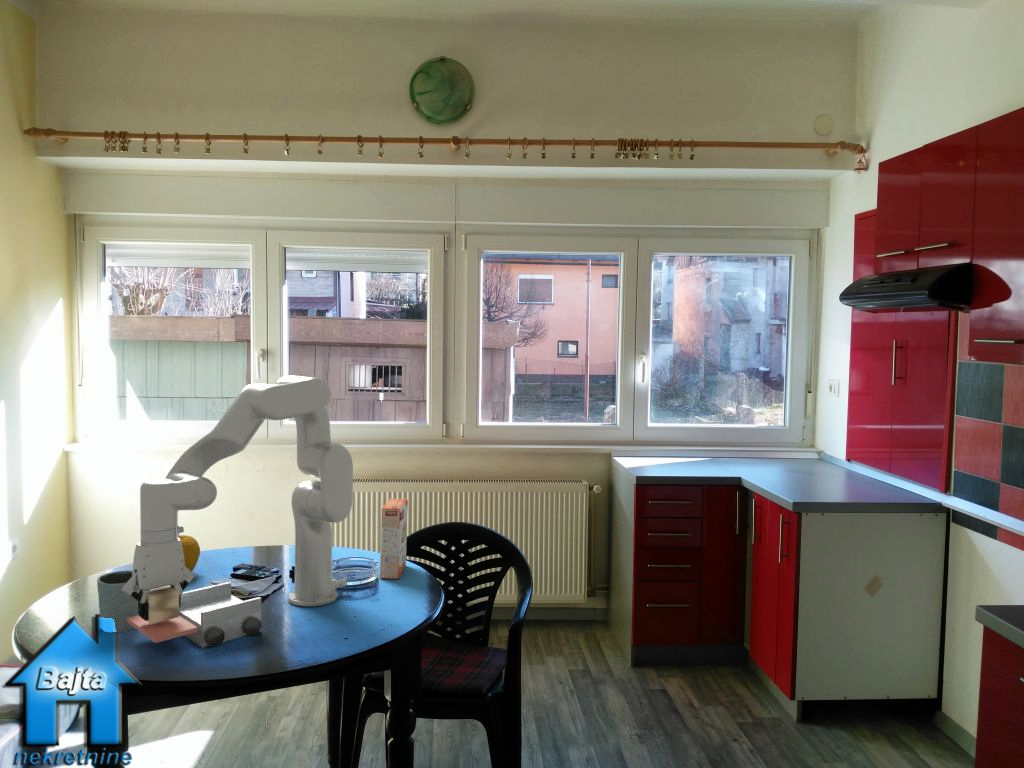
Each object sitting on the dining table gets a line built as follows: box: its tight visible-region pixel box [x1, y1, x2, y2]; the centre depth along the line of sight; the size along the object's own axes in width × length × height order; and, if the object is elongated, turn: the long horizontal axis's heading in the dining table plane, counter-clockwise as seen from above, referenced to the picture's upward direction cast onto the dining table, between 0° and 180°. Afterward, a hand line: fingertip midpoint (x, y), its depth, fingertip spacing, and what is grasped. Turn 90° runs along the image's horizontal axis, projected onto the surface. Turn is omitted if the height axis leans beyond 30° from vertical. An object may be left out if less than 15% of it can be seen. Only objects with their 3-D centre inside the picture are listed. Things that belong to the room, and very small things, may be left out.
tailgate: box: [127, 615, 197, 644], centre depth 170 cm, size 1×16×9 cm
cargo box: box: [147, 585, 179, 624], centre depth 169 cm, size 6×6×6 cm
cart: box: [179, 581, 263, 648], centre depth 179 cm, size 14×18×8 cm
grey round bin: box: [96, 570, 139, 633], centre depth 179 cm, size 10×10×12 cm
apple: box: [178, 534, 201, 573], centre depth 217 cm, size 13×13×11 cm
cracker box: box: [379, 498, 409, 580], centre depth 225 cm, size 14×6×21 cm, turn 179°
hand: (159, 614), depth 169 cm, fingers closed on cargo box, 5 cm apart
